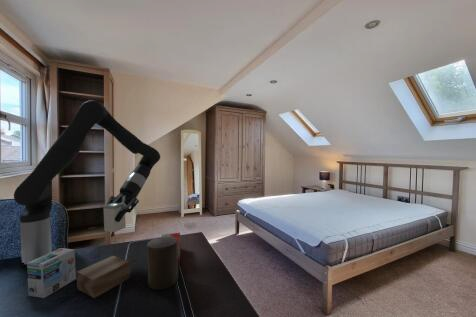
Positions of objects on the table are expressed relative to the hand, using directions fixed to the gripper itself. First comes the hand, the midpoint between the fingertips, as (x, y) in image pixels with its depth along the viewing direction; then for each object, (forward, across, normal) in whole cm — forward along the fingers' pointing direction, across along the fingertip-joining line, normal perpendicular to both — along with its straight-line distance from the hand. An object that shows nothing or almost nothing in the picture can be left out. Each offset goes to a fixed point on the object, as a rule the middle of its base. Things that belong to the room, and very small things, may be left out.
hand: (110, 220), depth 82 cm
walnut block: (+20, +7, +6) cm, 22 cm away
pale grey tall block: (+2, 0, +4) cm, 5 cm away
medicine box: (+5, +18, +21) cm, 29 cm away
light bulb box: (+24, -8, +2) cm, 25 cm away
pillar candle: (+15, +26, +11) cm, 32 cm away
